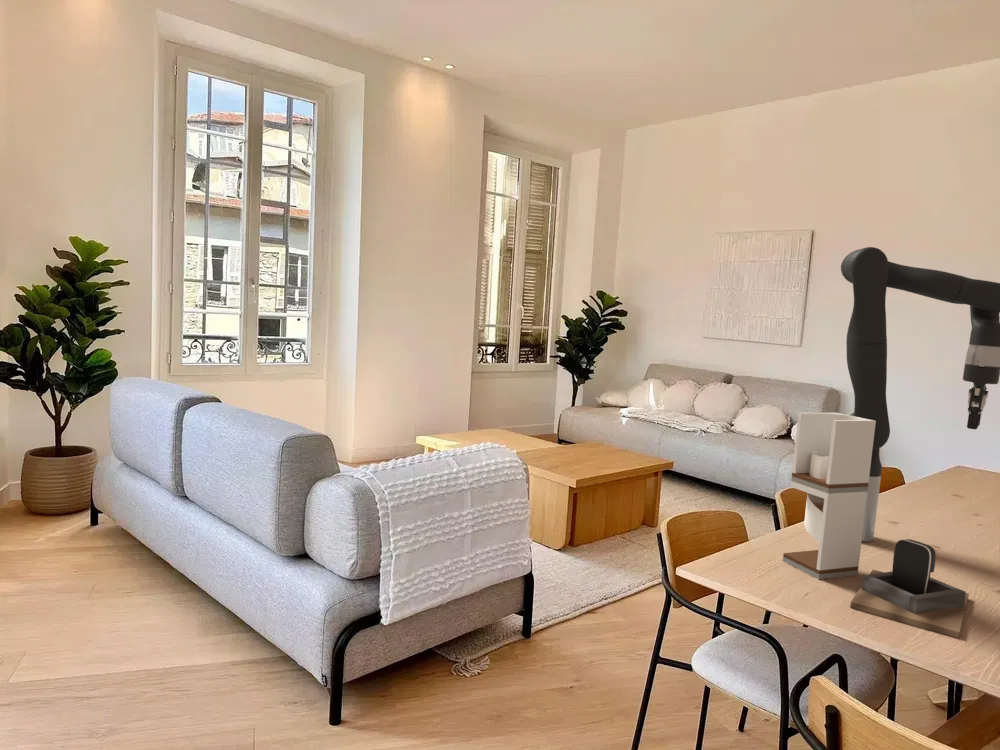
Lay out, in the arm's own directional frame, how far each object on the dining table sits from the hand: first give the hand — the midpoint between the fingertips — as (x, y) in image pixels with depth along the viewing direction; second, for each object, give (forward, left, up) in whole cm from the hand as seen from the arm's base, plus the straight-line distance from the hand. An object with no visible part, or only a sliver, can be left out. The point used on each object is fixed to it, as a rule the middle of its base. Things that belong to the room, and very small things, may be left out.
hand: (973, 427), depth 177 cm
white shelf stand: (-23, -45, -32) cm, 60 cm away
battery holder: (-4, -52, -32) cm, 61 cm away
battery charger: (-5, -51, -31) cm, 60 cm away
